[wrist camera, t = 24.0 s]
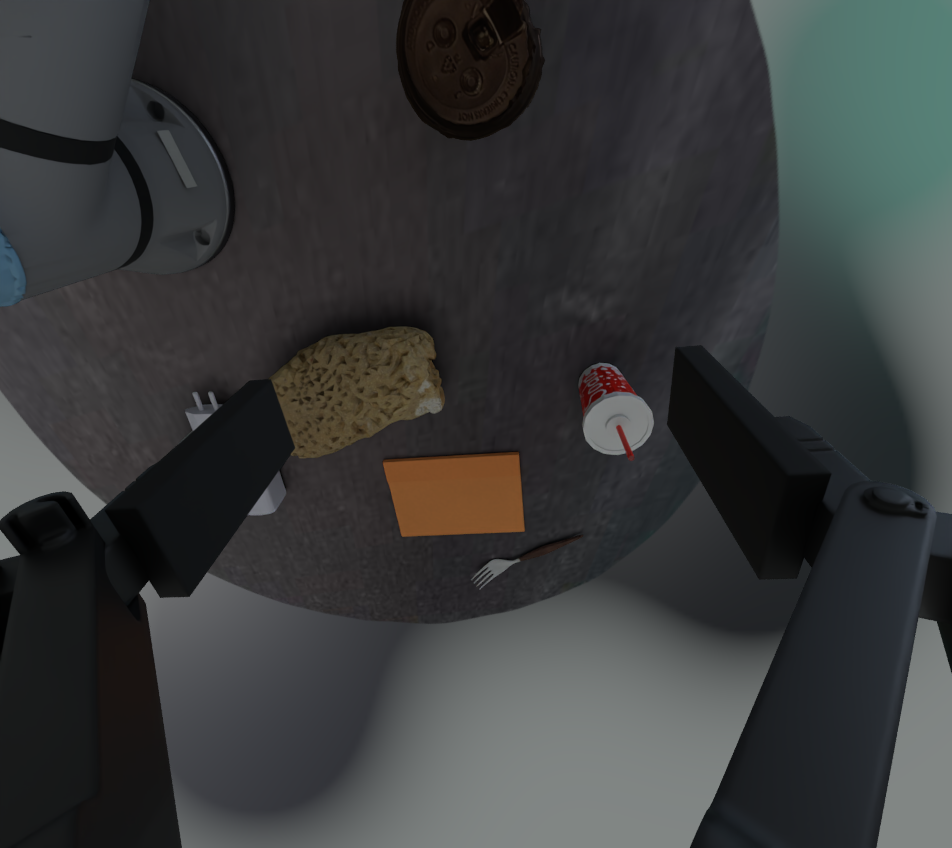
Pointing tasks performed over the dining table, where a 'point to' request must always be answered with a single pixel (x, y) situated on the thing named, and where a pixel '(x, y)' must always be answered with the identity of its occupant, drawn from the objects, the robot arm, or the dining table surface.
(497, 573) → the fork
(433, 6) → the coffee cup
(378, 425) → the sponge
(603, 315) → the dining table surface
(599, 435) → the beverage cup
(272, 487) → the charger
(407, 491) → the cloth
